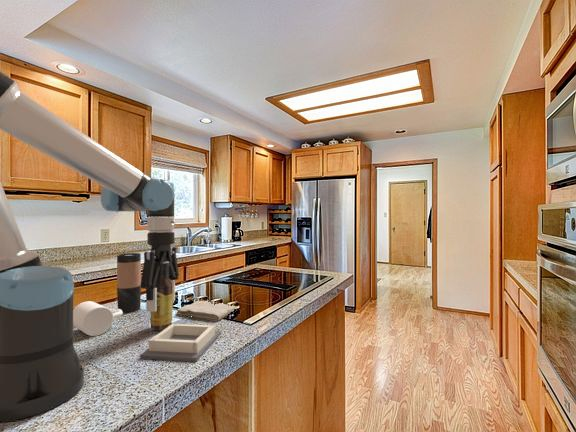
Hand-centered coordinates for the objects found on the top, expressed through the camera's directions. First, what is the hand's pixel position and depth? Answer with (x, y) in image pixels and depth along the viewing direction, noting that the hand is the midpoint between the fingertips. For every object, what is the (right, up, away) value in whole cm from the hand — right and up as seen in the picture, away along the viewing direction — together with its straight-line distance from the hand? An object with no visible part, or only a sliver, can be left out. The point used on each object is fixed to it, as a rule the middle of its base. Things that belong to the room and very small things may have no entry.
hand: (161, 305), depth 90 cm
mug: (-18, -7, -1) cm, 20 cm away
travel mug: (-19, -7, +18) cm, 27 cm away
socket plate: (+11, -7, -12) cm, 18 cm away
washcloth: (+10, -7, +14) cm, 19 cm away
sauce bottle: (0, -7, 0) cm, 7 cm away
